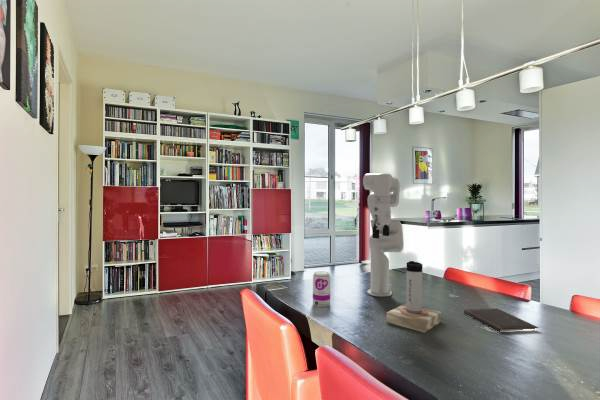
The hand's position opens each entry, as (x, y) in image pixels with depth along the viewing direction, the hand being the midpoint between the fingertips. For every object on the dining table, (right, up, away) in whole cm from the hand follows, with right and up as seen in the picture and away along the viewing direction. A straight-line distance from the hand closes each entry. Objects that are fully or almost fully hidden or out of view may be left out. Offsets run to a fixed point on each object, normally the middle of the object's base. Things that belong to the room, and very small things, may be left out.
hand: (380, 237), depth 166 cm
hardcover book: (+44, -34, -19) cm, 59 cm away
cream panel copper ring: (+9, -33, -20) cm, 39 cm away
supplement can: (-28, -32, +3) cm, 42 cm away
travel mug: (+9, -29, -20) cm, 36 cm away
